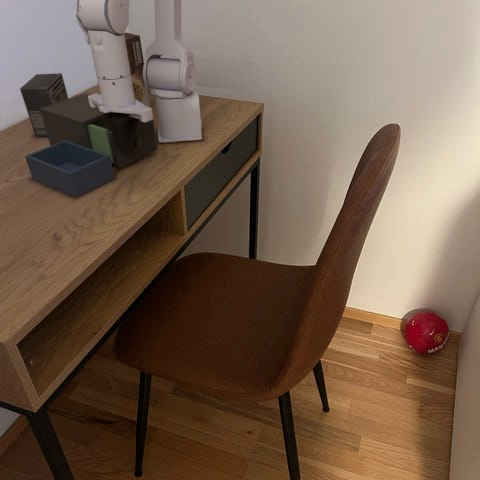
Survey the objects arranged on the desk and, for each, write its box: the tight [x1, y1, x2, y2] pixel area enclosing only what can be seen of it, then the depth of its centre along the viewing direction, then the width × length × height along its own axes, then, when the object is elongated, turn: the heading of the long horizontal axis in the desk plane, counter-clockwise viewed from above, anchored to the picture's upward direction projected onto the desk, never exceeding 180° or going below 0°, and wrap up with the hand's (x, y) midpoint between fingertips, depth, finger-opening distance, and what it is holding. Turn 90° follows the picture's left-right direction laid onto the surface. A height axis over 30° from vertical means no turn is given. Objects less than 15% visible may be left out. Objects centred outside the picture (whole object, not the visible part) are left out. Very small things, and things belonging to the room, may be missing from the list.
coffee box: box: [124, 31, 151, 108], centre depth 113 cm, size 9×6×16 cm
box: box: [24, 140, 115, 199], centre depth 89 cm, size 13×9×5 cm
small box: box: [19, 72, 69, 137], centre depth 107 cm, size 11×6×10 cm, turn 178°
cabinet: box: [40, 92, 107, 149], centre depth 99 cm, size 13×12×8 cm
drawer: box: [86, 118, 158, 169], centre depth 95 cm, size 14×11×7 cm
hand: (128, 152), depth 90 cm, fingers closed
